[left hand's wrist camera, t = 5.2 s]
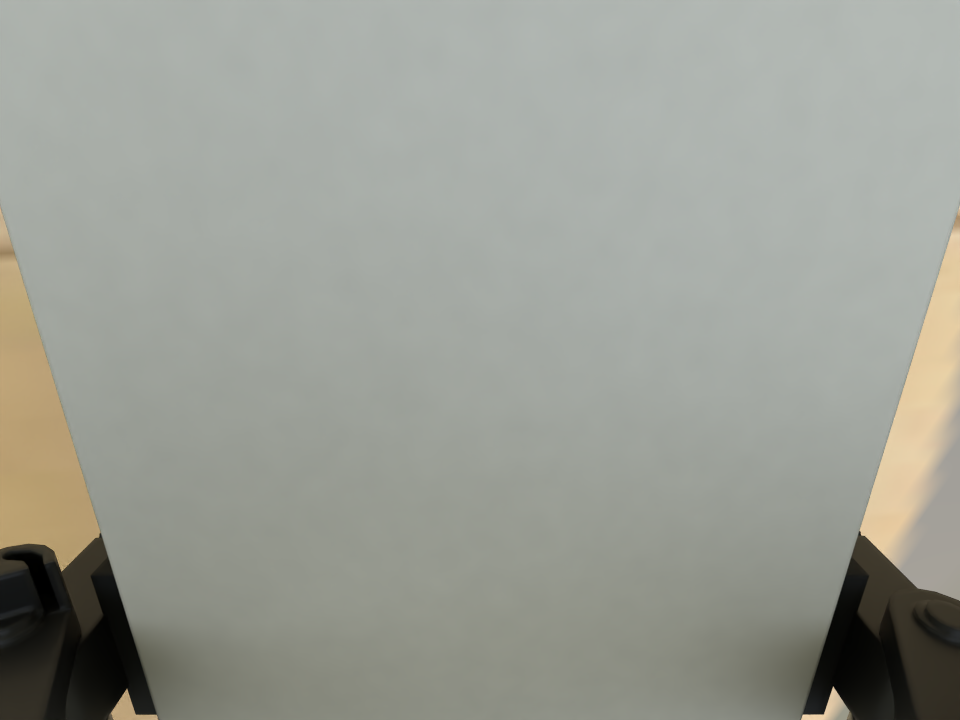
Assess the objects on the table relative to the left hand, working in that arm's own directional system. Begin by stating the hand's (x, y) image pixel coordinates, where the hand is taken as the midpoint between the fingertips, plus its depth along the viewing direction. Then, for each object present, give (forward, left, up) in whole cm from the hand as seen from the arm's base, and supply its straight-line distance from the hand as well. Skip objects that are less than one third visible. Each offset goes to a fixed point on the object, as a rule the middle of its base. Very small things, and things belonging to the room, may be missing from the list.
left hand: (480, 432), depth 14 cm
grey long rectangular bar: (+14, +10, 0) cm, 17 cm away
